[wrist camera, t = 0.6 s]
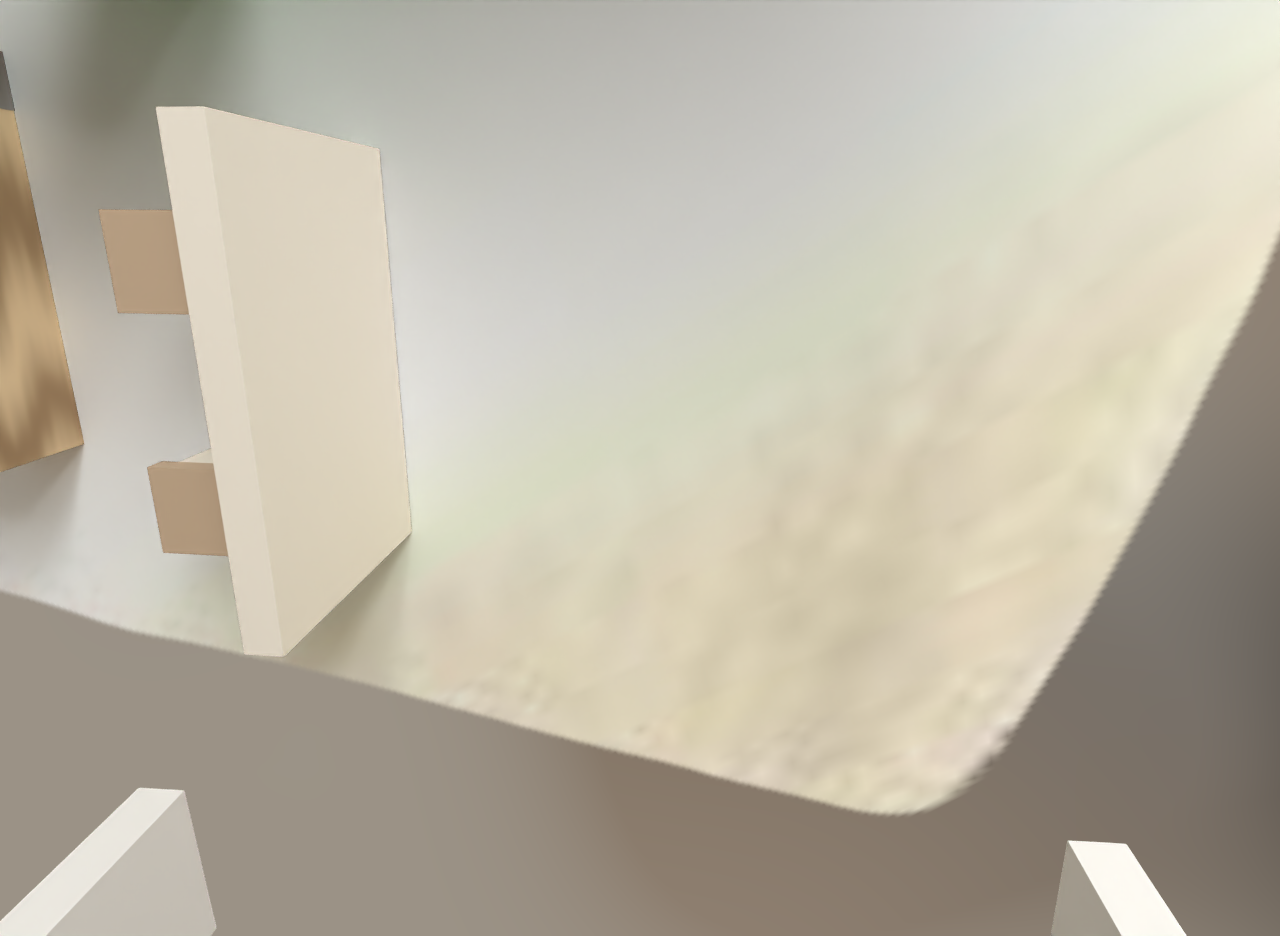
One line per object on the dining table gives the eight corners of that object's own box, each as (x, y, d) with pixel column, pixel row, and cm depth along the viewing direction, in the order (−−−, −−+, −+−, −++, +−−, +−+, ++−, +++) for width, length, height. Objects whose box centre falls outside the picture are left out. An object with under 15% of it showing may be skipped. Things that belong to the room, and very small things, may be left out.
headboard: (255, 148, 34) (22, 107, 23) (379, 148, 34) (204, 106, 22) (304, 526, 39) (134, 647, 28) (411, 532, 39) (284, 656, 28)
